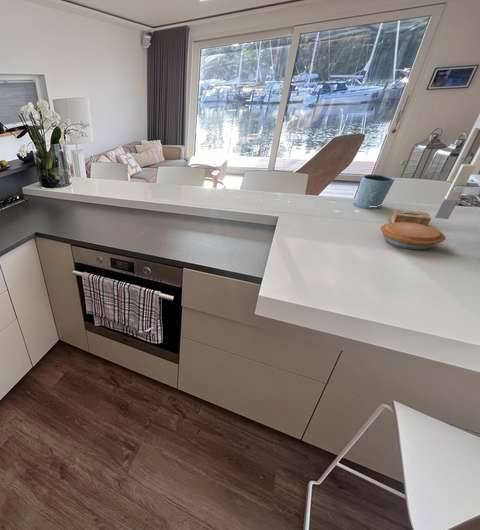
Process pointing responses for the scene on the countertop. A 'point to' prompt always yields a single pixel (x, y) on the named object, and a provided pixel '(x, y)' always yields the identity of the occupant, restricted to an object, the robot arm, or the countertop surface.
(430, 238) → the pie
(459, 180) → the knife
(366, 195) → the blue gray cup
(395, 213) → the knife stand
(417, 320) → the countertop surface
